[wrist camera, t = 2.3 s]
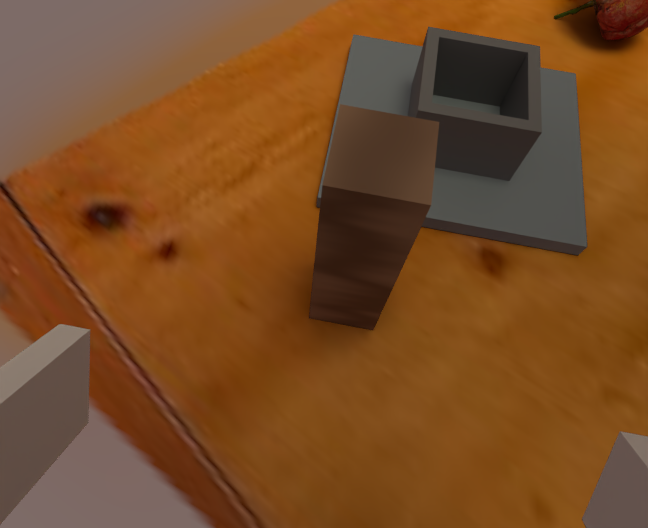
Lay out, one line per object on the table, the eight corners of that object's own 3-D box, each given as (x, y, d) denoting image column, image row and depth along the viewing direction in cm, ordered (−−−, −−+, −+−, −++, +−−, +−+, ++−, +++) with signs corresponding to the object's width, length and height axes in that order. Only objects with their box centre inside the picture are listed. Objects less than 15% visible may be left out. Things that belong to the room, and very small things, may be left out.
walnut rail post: (381, 272, 32) (439, 122, 20) (372, 330, 31) (431, 205, 18) (320, 261, 32) (340, 104, 20) (308, 317, 31) (322, 185, 18)
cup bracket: (568, 85, 41) (611, 18, 35) (577, 255, 34) (634, 205, 28) (351, 46, 41) (361, -25, 36) (316, 206, 34) (321, 148, 29)
